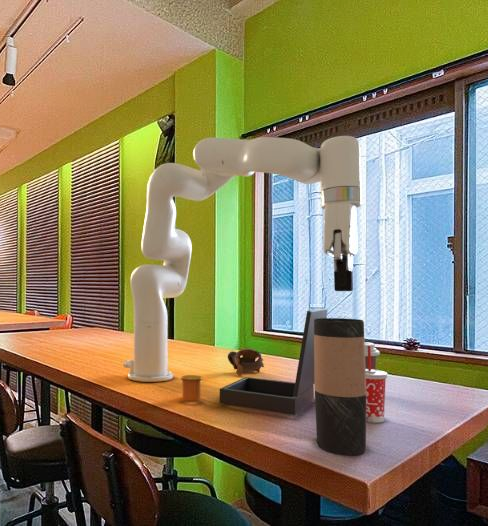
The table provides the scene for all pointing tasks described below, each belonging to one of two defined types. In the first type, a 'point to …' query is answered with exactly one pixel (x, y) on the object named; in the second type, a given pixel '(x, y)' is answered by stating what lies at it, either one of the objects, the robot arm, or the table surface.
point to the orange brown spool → (191, 387)
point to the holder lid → (307, 353)
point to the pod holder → (265, 395)
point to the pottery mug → (245, 361)
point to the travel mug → (340, 385)
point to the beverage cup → (375, 392)
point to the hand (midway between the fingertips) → (343, 290)
